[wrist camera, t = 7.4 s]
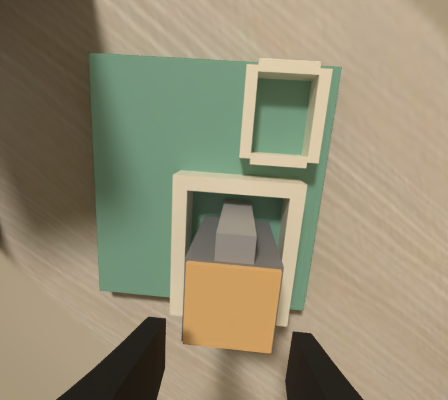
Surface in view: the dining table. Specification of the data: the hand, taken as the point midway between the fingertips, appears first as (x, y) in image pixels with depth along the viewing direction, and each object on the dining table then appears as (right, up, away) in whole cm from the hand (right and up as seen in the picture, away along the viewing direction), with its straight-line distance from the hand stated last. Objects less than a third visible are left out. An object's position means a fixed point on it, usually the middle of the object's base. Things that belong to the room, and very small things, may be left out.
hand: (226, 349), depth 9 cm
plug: (0, +2, +8) cm, 8 cm away
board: (-1, +6, +8) cm, 10 cm away
